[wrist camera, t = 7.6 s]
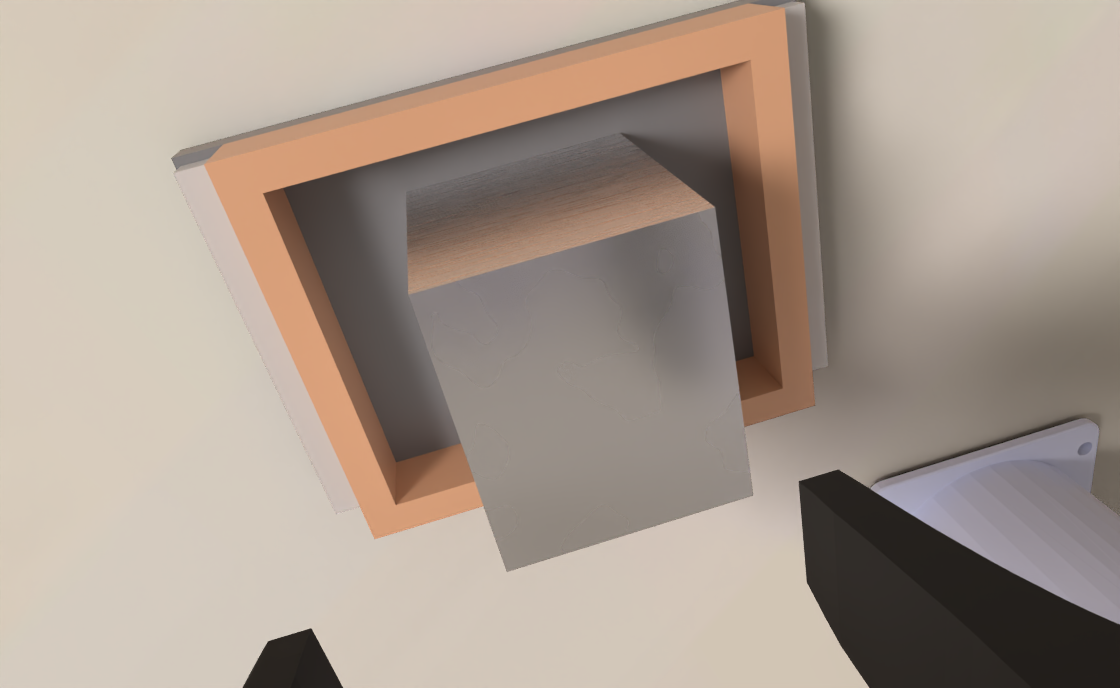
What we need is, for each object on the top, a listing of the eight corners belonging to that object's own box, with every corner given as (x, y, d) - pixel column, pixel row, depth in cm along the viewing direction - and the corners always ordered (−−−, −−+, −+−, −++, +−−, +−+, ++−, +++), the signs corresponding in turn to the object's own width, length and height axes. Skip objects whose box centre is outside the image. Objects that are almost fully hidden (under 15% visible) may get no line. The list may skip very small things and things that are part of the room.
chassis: (807, 348, 22) (855, 393, 20) (339, 488, 21) (330, 552, 19) (779, -11, 17) (837, -7, 15) (180, 149, 17) (145, 180, 14)
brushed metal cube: (661, 356, 20) (753, 495, 15) (478, 410, 20) (507, 571, 15) (619, 132, 17) (714, 207, 12) (405, 191, 17) (408, 294, 12)
